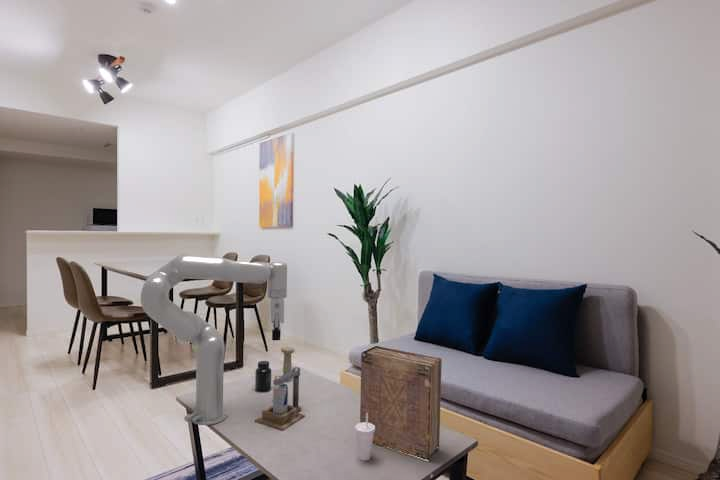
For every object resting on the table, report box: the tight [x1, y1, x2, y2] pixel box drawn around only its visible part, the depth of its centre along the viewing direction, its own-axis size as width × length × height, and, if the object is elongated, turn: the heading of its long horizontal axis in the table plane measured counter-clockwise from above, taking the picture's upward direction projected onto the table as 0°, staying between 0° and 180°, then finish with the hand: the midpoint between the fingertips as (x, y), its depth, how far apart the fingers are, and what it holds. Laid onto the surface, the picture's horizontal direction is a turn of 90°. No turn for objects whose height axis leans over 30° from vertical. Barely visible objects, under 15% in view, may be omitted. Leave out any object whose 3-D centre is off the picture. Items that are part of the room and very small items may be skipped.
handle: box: [280, 346, 295, 382], centre depth 191 cm, size 5×6×15 cm
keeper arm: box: [272, 366, 301, 386], centre depth 154 cm, size 15×3×3 cm, turn 156°
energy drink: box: [272, 382, 289, 415], centre depth 152 cm, size 5×5×12 cm
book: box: [359, 345, 443, 460], centre depth 136 cm, size 25×9×30 cm, turn 58°
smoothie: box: [354, 413, 375, 461], centre depth 128 cm, size 6×6×14 cm
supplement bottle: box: [254, 360, 272, 393], centre depth 180 cm, size 7×7×12 cm
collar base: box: [254, 375, 306, 432], centre depth 154 cm, size 18×13×14 cm
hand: (276, 339), depth 162 cm, fingers closed
